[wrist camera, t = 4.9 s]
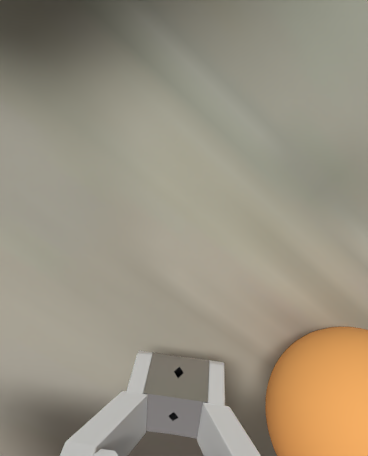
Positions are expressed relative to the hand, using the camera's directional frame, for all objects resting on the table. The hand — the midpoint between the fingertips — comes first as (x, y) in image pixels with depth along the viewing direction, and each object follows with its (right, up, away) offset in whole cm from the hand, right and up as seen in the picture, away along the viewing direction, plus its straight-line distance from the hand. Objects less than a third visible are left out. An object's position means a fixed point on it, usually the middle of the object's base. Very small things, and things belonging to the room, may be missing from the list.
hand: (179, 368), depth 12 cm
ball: (+6, -1, -1) cm, 6 cm away
